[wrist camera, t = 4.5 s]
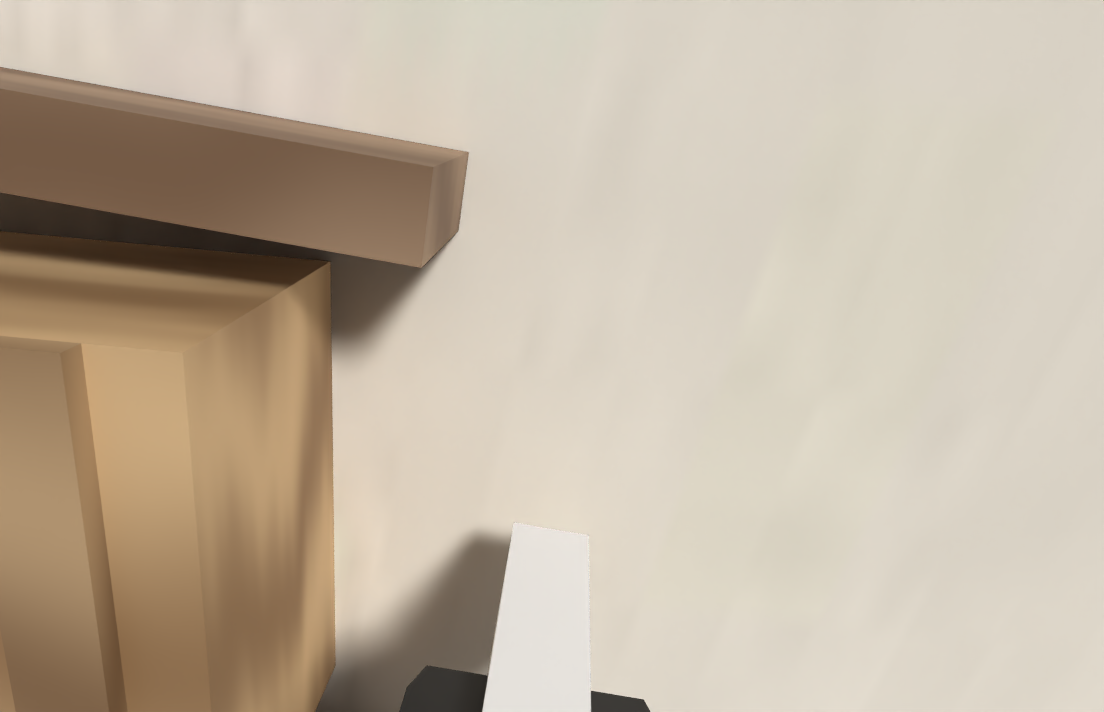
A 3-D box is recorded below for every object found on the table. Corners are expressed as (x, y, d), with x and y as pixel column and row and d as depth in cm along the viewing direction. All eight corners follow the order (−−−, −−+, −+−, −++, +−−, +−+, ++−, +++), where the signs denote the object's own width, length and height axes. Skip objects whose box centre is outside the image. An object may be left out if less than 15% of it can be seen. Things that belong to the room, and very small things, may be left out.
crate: (-152, 215, 15) (-640, 288, 9) (333, 259, 15) (166, 363, 9) (-63, 620, 18) (-381, 873, 12) (338, 659, 18) (216, 934, 12)
